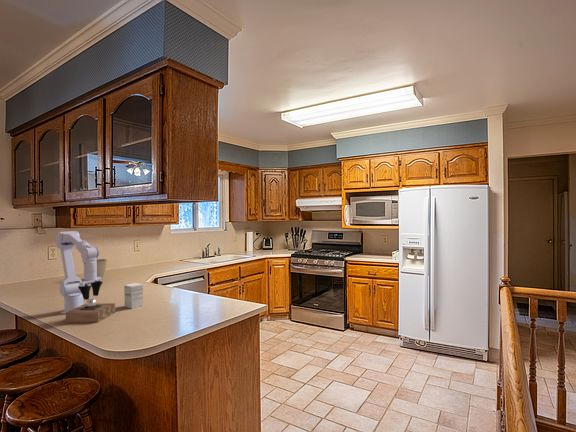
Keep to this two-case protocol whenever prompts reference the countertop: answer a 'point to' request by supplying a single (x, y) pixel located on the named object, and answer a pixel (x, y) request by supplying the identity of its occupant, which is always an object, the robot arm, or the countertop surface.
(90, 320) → the walnut block
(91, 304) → the steel peg
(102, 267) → the plant pot
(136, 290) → the supplement box
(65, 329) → the countertop surface
